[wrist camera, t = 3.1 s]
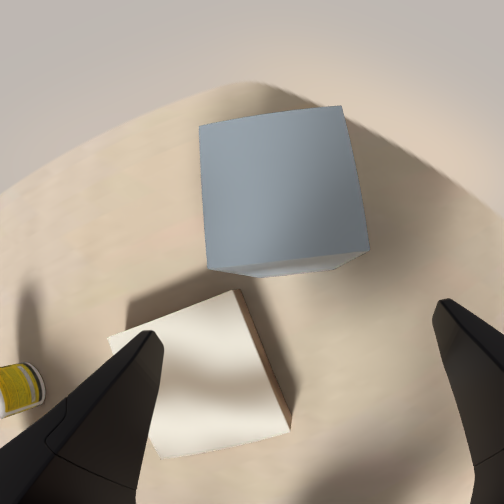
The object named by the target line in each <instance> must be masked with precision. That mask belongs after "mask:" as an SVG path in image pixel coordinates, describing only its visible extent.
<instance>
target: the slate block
mask: <svg viewBox="0 0 504 504" xmlns="http://www.w3.org/2000/svg"><path fill="white" fill-rule="evenodd" d="M199 142H200V164H201V183H202V200H203V215H204V230H205V243H206V256H207V268H208V269H211V270H217V271H222V272H228V273H234V274H240V275H246V276H252V277H258V278H264V277H274V276H283V275H292V274H301V273H309V272H318V271H327V270H334V269H336V268H338V267H340V266H342V265H343V264H345V263H347V262H349V261H351V260H353V259H355V258H357V257H359V256H360V255H362V254H364V253H366V252H368V251H370V246H369V239H368V232H367V225H366V219H365V213H364V207H363V201H362V196H361V190H360V185H359V180H358V175H357V170H356V165H355V160H354V156H353V151H352V147H351V142H350V138H349V134H348V130H347V125H346V121H345V117H344V114H343V110H342V106H330V107H318V108H308V109H299V110H291V111H283V112H276V113H269V114H262V115H256V116H249V117H243V118H238V119H232V120H227V121H221V122H216V123H211V124H207V125H202V126H199Z"/></svg>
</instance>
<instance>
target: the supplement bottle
mask: <svg viewBox="0 0 504 504" xmlns="http://www.w3.org/2000/svg"><path fill="white" fill-rule="evenodd" d="M44 399H45V386H44V382H43V380H42V377H41V375H40V374H39V372H38V371H37V369H36V368H35V367H34V366H33V365H31V364H30V363H27V362H23V363H18V364H13V365H8V366H3V367H0V419H3V418H6V417H9V416H11V415H14V414H17V413H20V412H23V411H26V410H28V409H31V408H34V407H36V406H39V405H41V404H42V403H43V401H44Z"/></svg>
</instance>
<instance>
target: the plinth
mask: <svg viewBox="0 0 504 504" xmlns="http://www.w3.org/2000/svg"><path fill="white" fill-rule="evenodd" d="M143 330H153V331H155V333H156V334H157V336H158V337H159V339H160V340H161V342H162V343H163V345H164V358H163V365H162V373H161V381H160V387H159V392H158V396H157V400H156V404H155V408H154V412H153V417H152V421H151V425H150V429H149V434H148V436H149V438H150V440H151V442H152V444H153V446H154V448H155V450H156V451H157V453H158V455H159V457H160V459H168V458H175V457H182V456H188V455H195V454H200V453H206V452H211V451H216V450H221V449H226V448H231V447H235V446H240V445H244V444H248V443H252V442H256V441H260V440H264V439H267V438H271V437H275V436H278V435H282V434H285V433H288V432H290V430H291V421H292V416H291V414H290V411H289V409H288V406H287V404H286V402H285V399H284V397H283V394H282V392H281V390H280V387H279V385H278V382H277V380H276V377H275V375H274V373H273V370H272V368H271V365H270V363H269V360H268V358H267V355H266V353H265V350H264V348H263V345H262V343H261V341H260V338H259V336H258V333H257V331H256V328H255V325H254V323H253V320H252V318H251V315H250V313H249V310H248V308H247V305H246V303H245V300H244V298H243V295H242V292H241V290H240V289H236V290H230V291H228V292H225V293H223V294H220V295H217V296H215V297H212V298H210V299H207V300H205V301H202V302H200V303H197V304H195V305H192V306H189V307H187V308H184V309H182V310H179V311H176V312H174V313H171V314H169V315H166V316H163V317H161V318H158V319H155V320H153V321H150V322H147V323H145V324H142V325H140V326H137V327H134V328H131V329H129V330H126V331H123V332H121V333H118V334H115V335H113V336H110V337H107V339H108V342H109V344H110V347H111V350H112V353H113V355H115V354H116V353H117V352H118V351H119V350H120V349H121V348H123V347H124V346H125V345H126V344H127V343H128V342H129V341H131V340H132V339H133V338H134V337H135V336H136V335H137V334H139V333H140V332H141V331H143Z"/></svg>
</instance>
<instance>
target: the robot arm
mask: <svg viewBox="0 0 504 504" xmlns="http://www.w3.org/2000/svg"><path fill="white" fill-rule="evenodd" d="M432 323H433V328H434V331H435V335H436V339H437V342H438V346H439V350H440V354H441V358H442V362H443V365H444V368H445V371H446V373H447V376H448V379H449V382H450V385H451V388H452V391H453V394H454V397H455V400H456V403H457V407H458V410H459V413H460V416H461V420H462V423H463V427H464V430H465V434H466V438H467V442H468V446H469V450H470V454H471V458H472V462H473V466H474V472H475V482H474V488H473V493H472V498H471V502H470V504H504V335H503V334H502V333H501V332H499V331H498V330H496V329H495V328H493V327H492V326H491V325H489V324H488V323H486V322H485V321H483V320H482V319H480V318H479V317H477V316H476V315H474V314H473V313H472V312H470V311H469V310H467V309H466V308H464V307H463V306H461V305H460V304H458V303H456V302H455V301H453V300H452V299H450V298H447V299H442V300H439V301H438V303H437V306H436V308H435V311H434V314H433V318H432ZM163 358H164V345H163V343H162V342H161V340H160V339H159V337H158V336H157V334H156V333H155V331H153V330H143V331H141V332H140V333H139V334H137V335H136V336H135V337H134V338H133V339H132V340H131V341H129V342H128V343H127V344H126V345H125V346H124V347H123V348H121V349H120V350H119V351H118V352H117V353H116V354H115V355H113V356H112V357H111V358H110V359H109V360H108V361H107V362H105V363H104V364H103V365H102V366H101V367H100V368H99V369H97V370H96V371H95V372H94V373H93V374H92V375H91V376H89V377H88V378H87V379H86V380H85V381H84V382H83V383H82V384H80V385H79V386H78V387H77V388H76V389H75V390H74V391H73V392H71V393H70V394H69V395H68V397H65V398H64V399H63V400H62V401H61V402H60V403H59V404H57V405H56V406H55V407H54V408H53V409H51V410H50V411H49V412H48V413H47V414H45V415H44V416H43V417H42V418H40V419H39V420H38V421H36V422H35V423H34V424H32V425H31V426H30V427H28V428H27V429H26V430H24V431H23V432H22V433H20V434H19V435H18V436H16V437H15V438H14V439H12V440H11V441H10V442H8V443H7V444H6V445H4V446H3V447H2V448H0V504H136V499H135V497H136V490H137V485H138V480H139V475H140V470H141V465H142V461H143V456H144V452H145V447H146V443H147V438H148V434H149V429H150V425H151V421H152V417H153V412H154V408H155V404H156V400H157V396H158V392H159V387H160V381H161V373H162V365H163Z"/></svg>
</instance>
